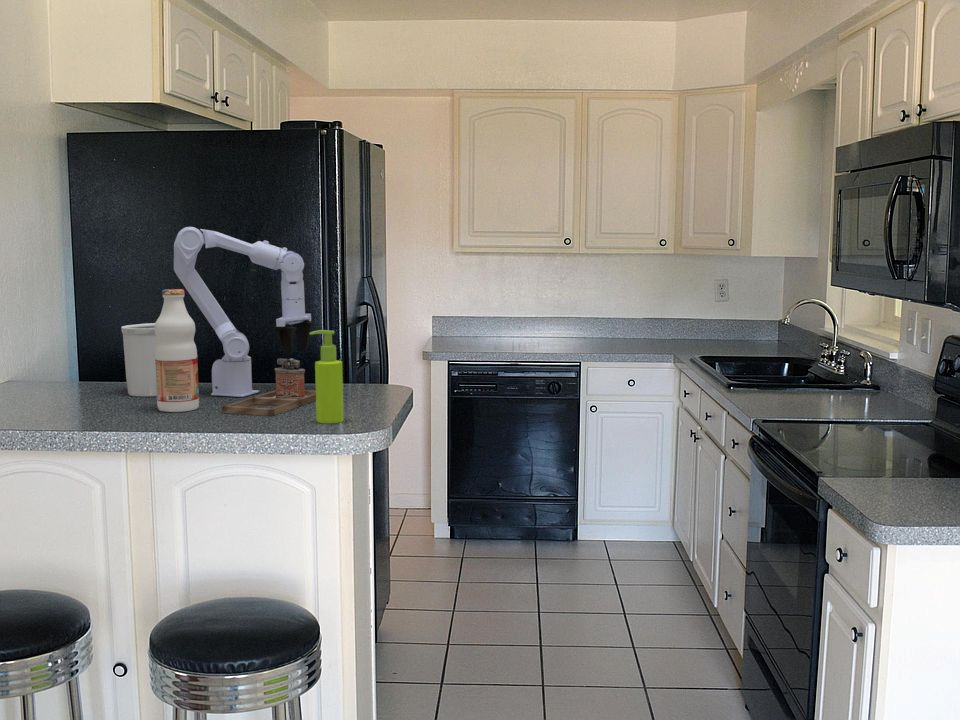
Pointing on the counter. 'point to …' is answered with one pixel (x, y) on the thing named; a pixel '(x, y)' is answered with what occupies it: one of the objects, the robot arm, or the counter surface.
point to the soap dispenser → (328, 382)
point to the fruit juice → (176, 356)
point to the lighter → (289, 379)
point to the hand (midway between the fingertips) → (295, 351)
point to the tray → (268, 399)
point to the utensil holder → (140, 359)
